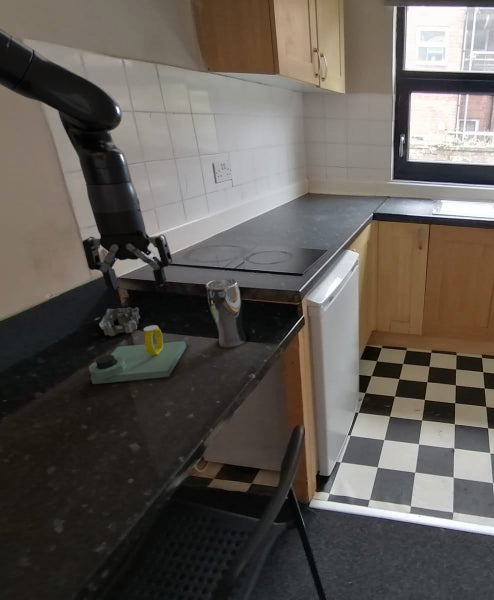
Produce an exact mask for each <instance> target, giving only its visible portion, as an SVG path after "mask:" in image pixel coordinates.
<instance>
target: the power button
mask: <svg viewBox="0 0 494 600" xmlns="http://www.w3.org/2000/svg"><path fill="white" fill-rule="evenodd" d="M95 362H96V363H97V366H98V368H99V369H106V368H109V367H112V366H114V365H115V364H116V361H115V358H114V356H113V355H111V354H107V355H103V356H100V357H98V358H97V359H96V360H95Z"/></svg>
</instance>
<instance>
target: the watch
mask: <svg viewBox="0 0 494 600" xmlns="http://www.w3.org/2000/svg"><path fill="white" fill-rule="evenodd" d="M143 333H144V345H145V346H146V350H147V352H148V354H150V355H151V356H152V355H159V353H160V351H161V350H162V349H163V343H164V336H163V332H162V331H161V328H160V327H159V325H157V324H156V325H155V324H151V325H147V326H145V327H143ZM153 336H154V337H155V344H156V348H155V349H154V347H153V344H154V340H153Z"/></svg>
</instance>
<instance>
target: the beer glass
mask: <svg viewBox="0 0 494 600" xmlns="http://www.w3.org/2000/svg"><path fill="white" fill-rule="evenodd" d="M205 292H206V301H207V305H208V309H209V312H210V314H211V317H212V319H213V322H214V324H215V326H216V329H217V332H218V333H217V334H218V345H219V346H220V347H222V348H234V347H238V346H241V345H243V344H244V343H245V342H246V341H247V337H246V333H245V332H244V329H243V303H242V297H241V291H240V288H239V285H238V280H236V279H234V278H229V277H227V278H226V277H225V278H217V279H213V280H210V281H209V282H207V283H206V284H205Z"/></svg>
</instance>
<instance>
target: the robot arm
mask: <svg viewBox="0 0 494 600" xmlns="http://www.w3.org/2000/svg"><path fill="white" fill-rule="evenodd" d="M0 85H1V86H2V87H4V88H6V89H8V90H10V91H12V92H13V93H15V94H17V95H20V96H22V97H24V98H27V99H30V100H32V101H37V102H41V103H43V104H44V105H47V106H48V107H50V108H52V109H54V110H56V111H57V112H58V117H59V119H60V123H61V125H62V127H63V129H64V132H65V134H66V135H67V137H68V139H69V141H70V144H71V145H72V148H73V149H74V151H75V153H76V155H77V157H78V161H79V165H80V168H81V172H82V175H83V179H84V182H85V187H86V194H87V198H88V201H89V205H90V209H91V211H92V214H93V218H94V222H95V225H96V228H97V232H98V234H99V236H100V238H96V237H94V236H89V237H87V238H85V239H84V240H82V247H83V251H84V254H85V259H86V263H87V268H88V269H89V270H91V271H94V270H95V271H99V272H101V274H102V276H103V280H104V283H105V285H106V287H107V288H109V289H110V291H111V290H112V291H113V290H117V289H118V288H119V286H120V285H119V281H118V278H117V274H116V270H115V268H113V267H114V265H115V263H116V261H117V260H118V261H125V260H131V261H135V260H136V261H137V260H138V259H139V260H141V261H142V262H143V263H145V264H147V265H148V266H149V267H151V268H152V269H153V270H152V273H153V277H154V280H155V281H154V282H155V285H156V287H157V288H162V287H163V286H164V285H165V284H166V282H167V275H166V273H165V267H166V268H168V267H169V266H170V264H172V263H173V257H172V254H171V251H170V247H169V245H168V244H169V243H168V239H167V237H166V235H164V234H160V235H155V236H149V235H148V233H147V230H146V225H145V222H144V217H143V213H142V210H141V203H140V199H139V198H138V194H137V191H136V188H135V186H134V183H133V181H132V176H131V172H130V169H129V164H128V160H127V157H126V155H125V153H124V152H123V151H122V150H121V149H120V148H119V147H117V146H116V144H115V142H114V139H113V136H112V134H111V131H114V130H115V129H117V128H119V126H120V125H121V122H122V119H123V113H122V110H121V107H120V105H119V103H118V102H117V100H116V99H115V98H114V96H112V94H111V93H109V92H108V91H107V90H105V89H104V88H102V87H101V86H99V85H98V84H96V83H94V81H91V80H89V79H88V78H85V77H83V76H82V75H79V74H78V73H76V72H74V71H72V70H70V69H68V68H66V67H64V66H62V65H60V64H57V63H56V62H53V61H52V60H50V59H48V58H46V57H45V56H44V55H42V54H40V53H39V52H38V51H36V49H32V47H30V46H28V45H27V44H25V43H24V42H22V41H21V40H19V39H18V38H16V37H15V36H13V35H11V34H10V33H9V32H6V31H5V30H3V29H2V28H0ZM150 244H152V245H153V248H156V249H157V252H158V256H159V257H158V256H157V255H156V253H155V252H154V251H153V250H152V249H151V248H150V247H149V246H150ZM101 247H102V248H103V249H104V250H106V251H107V253H106V255H105V257H104V258H103V261H102V259H101V257H100V251H99V249H100V248H101Z"/></svg>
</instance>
